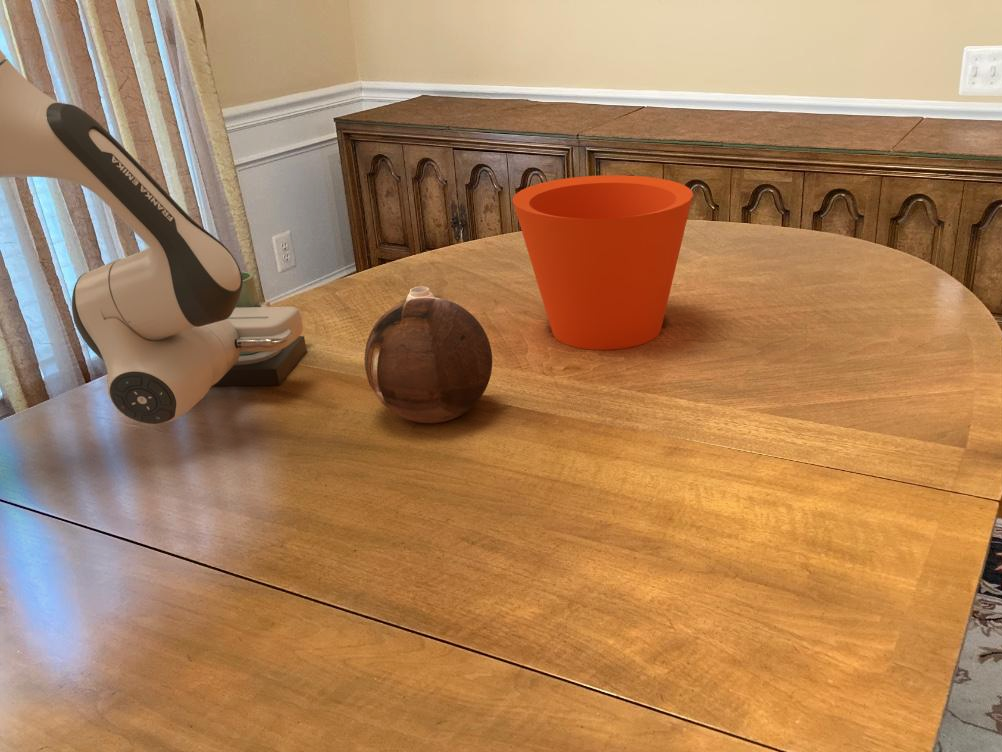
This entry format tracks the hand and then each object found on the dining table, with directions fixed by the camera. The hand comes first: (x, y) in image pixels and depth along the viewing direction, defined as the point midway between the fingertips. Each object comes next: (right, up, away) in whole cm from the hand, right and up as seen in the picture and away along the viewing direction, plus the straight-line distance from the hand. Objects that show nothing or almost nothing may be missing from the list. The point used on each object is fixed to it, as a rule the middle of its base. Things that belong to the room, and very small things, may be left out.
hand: (241, 307), depth 133 cm
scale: (0, -8, +3) cm, 9 cm away
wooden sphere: (+28, -15, -12) cm, 35 cm away
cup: (0, -5, +2) cm, 6 cm away
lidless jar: (+20, +3, +24) cm, 31 cm away
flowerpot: (+50, -2, +12) cm, 51 cm away
